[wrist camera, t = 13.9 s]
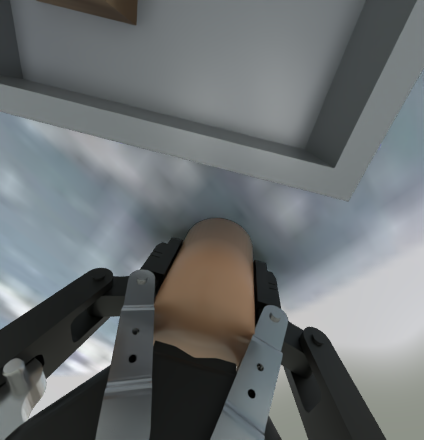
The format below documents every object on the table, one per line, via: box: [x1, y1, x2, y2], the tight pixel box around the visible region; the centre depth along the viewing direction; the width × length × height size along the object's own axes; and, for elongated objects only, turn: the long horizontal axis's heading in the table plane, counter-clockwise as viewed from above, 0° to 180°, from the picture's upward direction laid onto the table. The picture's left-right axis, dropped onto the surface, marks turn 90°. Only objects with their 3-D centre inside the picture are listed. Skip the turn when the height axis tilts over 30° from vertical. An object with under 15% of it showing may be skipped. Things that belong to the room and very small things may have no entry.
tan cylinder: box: [153, 218, 255, 367], centre depth 13 cm, size 5×5×7 cm
